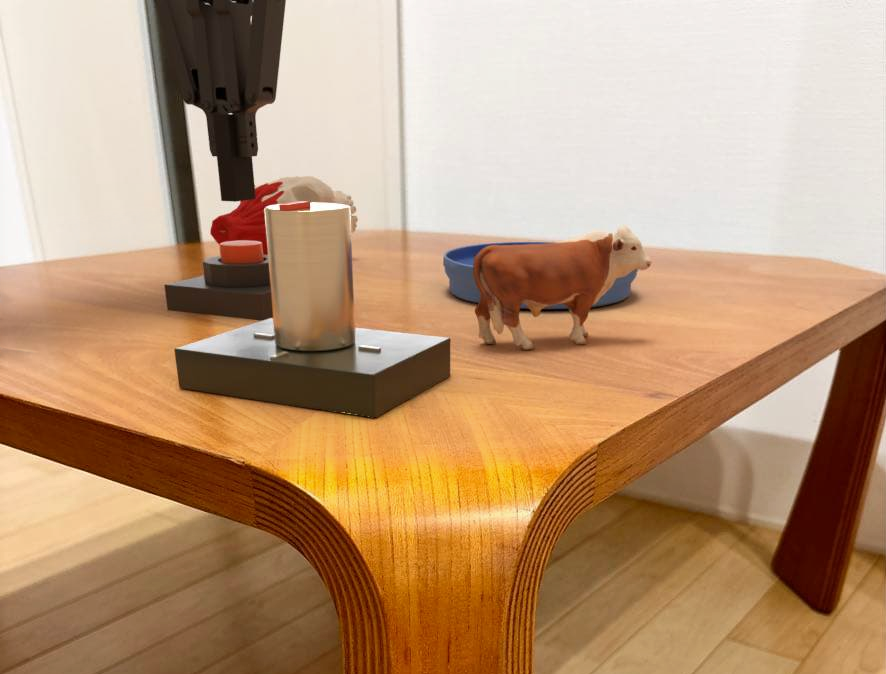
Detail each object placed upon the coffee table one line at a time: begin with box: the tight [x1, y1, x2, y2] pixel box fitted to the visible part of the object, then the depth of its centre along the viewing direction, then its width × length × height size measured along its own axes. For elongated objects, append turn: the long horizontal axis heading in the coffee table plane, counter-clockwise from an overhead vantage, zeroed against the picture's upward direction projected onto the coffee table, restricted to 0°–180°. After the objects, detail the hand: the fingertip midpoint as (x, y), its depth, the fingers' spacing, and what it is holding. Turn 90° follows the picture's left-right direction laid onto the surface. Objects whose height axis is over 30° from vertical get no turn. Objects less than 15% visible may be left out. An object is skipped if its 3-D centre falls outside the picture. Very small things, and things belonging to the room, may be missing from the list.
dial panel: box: [174, 318, 451, 418], centre depth 57 cm, size 14×10×3 cm
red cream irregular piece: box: [209, 175, 359, 255], centre depth 103 cm, size 9×11×15 cm
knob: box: [264, 201, 356, 351], centre depth 55 cm, size 5×5×8 cm
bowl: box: [442, 241, 639, 310], centre depth 85 cm, size 18×18×4 cm
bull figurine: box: [473, 225, 653, 350], centre depth 66 cm, size 4×13×8 cm, turn 105°
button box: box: [163, 255, 273, 321], centre depth 79 cm, size 10×9×4 cm
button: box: [218, 240, 264, 263], centre depth 78 cm, size 4×4×2 cm
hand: (238, 199), depth 76 cm, fingers closed
